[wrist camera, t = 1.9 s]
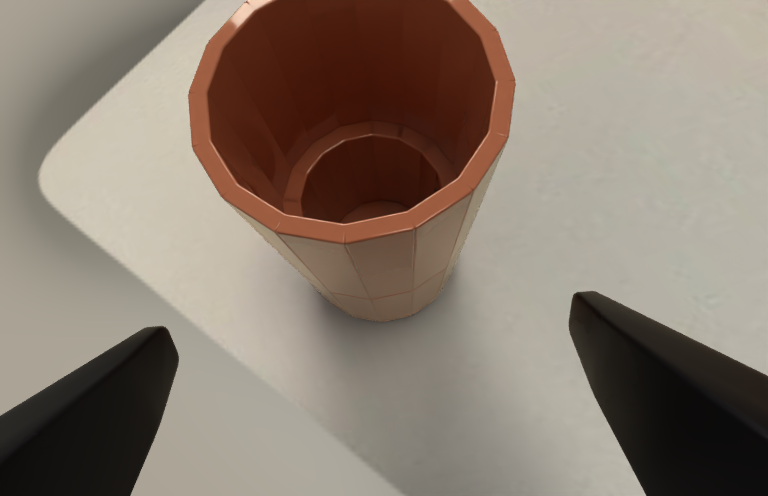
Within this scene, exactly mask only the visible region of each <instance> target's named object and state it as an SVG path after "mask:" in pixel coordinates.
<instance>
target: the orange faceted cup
mask: <svg viewBox="0 0 768 496" xmlns="http://www.w3.org/2000/svg"><path fill="white" fill-rule="evenodd" d="M515 85H516V84H515V78H514V75H513V72H512V70H511V67H510V64H509V61H508V58H507V55H506V53H505V50H504V47H503V44H502V41H501V38H500V36H499V33H498V31H497V29H496V28H495V27H494V26H493V25H492V24H491V23H490V22H489V21H488V20H487V19H486V18H485V16H484V15H483V14H482V13H481V12H480V11H479V10H478V9H477V8H476V7H475V6H474V5H473V4H472V3H471V2H470V1H469V0H247V1H246V2H245V3H243V4H242V5H241V6H240V8H239V9H238V10H237V11H236V12H235V13H234V14H233V15H232V16H231V17H230V18H229V20H228V21H227V22H226V23H225V24H224V25H223V26H222V27H221V28H220V29H219V30H218V32H217V33H216V34H215V35H214V36H213V37H212V38H211V39H210V40H209V42H208V44H207V45H206V48H205V50H204V53H203V56H202V58H201V61H200V63H199V66H198V69H197V71H196V74H195V76H194V79H193V82H192V84H191V87H190V90H189V94H188V99H189V113H190V127H191V141H192V147H193V151H194V153H195V154H196V156H197V158H198V159H199V161H200V163H201V164H202V166H203V168H204V169H205V171H206V173H207V174H208V176H209V178H210V179H211V181H212V183H213V184H214V186H215V188H216V189H217V191H218V193H219V194H220V196H221V197H222V198H223V199H224V200H225V201H226V202H227V203H228V204H229V205H230V206H231V207H232V208H233V209H234V210H235V211H236V212H237V213H238V214H239V215H240V216H241V217H242V218H243V219H244V220H245V221H246V222H247V223H249V224H250V225H251V226H252V227H253V228H254V229H255V230H256V231H257V232H258V233H259V234H260V235H261V236H262V237H263V238H264V239H265V240H266V241H267V242H268V243H269V244H270V245H271V246H272V247H273V248H274V249H275V250H276V251H277V252H279V253H280V254H281V255H282V256H283V257H284V258H285V259H286V260H287V261H288V262H289V263H290V264H291V265H292V266H293V267H294V268H295V269H296V270H297V271H298V272H299V273H300V274H301V275H302V276H303V277H304V278H306V279H307V280H308V281H309V282H310V283H311V284H312V285H313V286H314V287H315V288H316V289H317V290H318V291H319V292H320V293H321V294H322V295H323V296H324V297H325V298H326V299H327V300H328V301H329V302H331V303H332V304H334V305H335V306H337V307H338V308H340V309H341V310H343V311H344V312H346V313H347V314H349V315H350V316H353V317H357V318H362V319H367V320H372V321H377V322H381V321H382V322H385V321H390V320H395V319H399V318H404V317H409V316H411V315H413V314H415V313H416V312H418V311H419V310H421V309H422V308H424V307H425V306H427V305H428V304H429V303H431V302H432V301H434V300H435V299H436V298H437V297H438V295H439V293H440V292H441V290H442V289H443V287H444V286H445V284H446V282H447V281H448V279H449V278H450V276H451V274H452V272H453V269H454V267H455V264H456V262H457V260H458V257H459V255H460V252H461V250H462V248H463V245H464V243H465V240H466V238H467V235H468V234H469V231H470V229H471V226H472V224H473V222H474V219H475V217H476V215H477V212H478V210H479V207H480V205H481V203H482V200H483V198H484V195H485V193H486V191H487V188H488V186H489V184H490V181H491V179H492V176H493V174H494V172H495V169H496V167H497V164H498V162H499V160H500V157H501V155H502V152H503V150H504V148H505V145H506V143H507V140H508V138H509V132H510V124H511V116H512V108H513V101H514V93H515Z"/></svg>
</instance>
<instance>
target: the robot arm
mask: <svg viewBox="0 0 768 496" xmlns="http://www.w3.org/2000/svg"><path fill="white" fill-rule="evenodd" d="M569 331H570V335H571V337H572V340H573V342H574V345H575V348H576V350H577V353H578V355H579V358H580V361H581V363H582V366H583V368H584V371H585V374H586V376H587V379H588V381H589V384H590V386H591V389H592V391H593V394H594V396H595V398H596V400H597V402H598V404H599V406H600V408H601V410H602V412H603V414H604V416H605V417H606V419H607V421H608V423H609V425H610V427H611V429H612V431H613V433H614V435H615V437H616V439H617V440H618V442H619V444H620V446H621V448H622V450H623V452H624V454H625V456H626V458H627V460H628V461H629V463H630V465H631V467H632V469H633V471H634V473H635V475H636V477H637V479H638V481H639V482H640V484H641V486H642V488H643V490H644V492H645V494H646V496H768V376H767V375H765V374H763V373H761V372H759V371H757V370H755V369H753V368H751V367H748V366H746V365H744V364H742V363H740V362H738V361H736V360H734V359H732V358H730V357H728V356H726V355H724V354H722V353H720V352H718V351H716V350H714V349H712V348H710V347H708V346H706V345H704V344H702V343H699V342H697V341H695V340H693V339H691V338H689V337H687V336H685V335H683V334H681V333H679V332H677V331H675V330H673V329H671V328H669V327H667V326H665V325H663V324H661V323H659V322H657V321H655V320H653V319H651V318H648V317H646V316H644V315H642V314H640V313H638V312H636V311H634V310H632V309H630V308H628V307H626V306H624V305H622V304H620V303H618V302H616V301H614V300H612V299H610V298H608V297H606V296H604V295H602V294H599V293H597V292H595V291H586V292H577V293H575V294H574V295H573V298H572V303H571V310H570V317H569ZM178 362H179V356H178V352H177V350H176V347H175V345H174V342H173V340H172V338H171V335H170V333H169V331H168V329H167V328H166V327H164V326H157V327H156V326H155V327H146V328H144V329H142V330H140V331H139V332H137V333H135V334H134V335H132V336H130V337H129V338H127V339H125V340H124V341H122V342H121V343H119V344H117V345H116V346H114V347H112V348H111V349H109V350H107V351H106V352H104V353H103V354H101V355H99V356H98V357H96V358H94V359H93V360H91V361H89V362H88V363H86V364H85V365H83V366H81V367H80V368H78V369H76V370H75V371H73V372H71V373H70V374H68V375H66V376H65V377H64V378H62V379H60V380H58V381H57V382H55V383H54V384H52V385H50V386H48V387H47V388H45V389H44V390H42V391H40V392H39V393H37V394H36V395H34V396H32V397H30V398H29V399H27V400H26V401H24V402H22V403H21V404H19V405H17V406H16V407H14V408H13V409H11V410H9V411H8V412H6V413H4V414H3V415H1V416H0V496H130V495H131V492H132V490H133V488H134V485H135V483H136V480H137V478H138V476H139V473H140V471H141V469H142V467H143V464H144V462H145V459H146V457H147V455H148V452H149V450H150V448H151V445H152V443H153V441H154V438H155V435H156V433H157V430H158V428H159V425H160V422H161V419H162V416H163V413H164V410H165V407H166V403H167V400H168V397H169V394H170V390H171V387H172V384H173V380H174V377H175V374H176V371H177V367H178Z"/></svg>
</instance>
